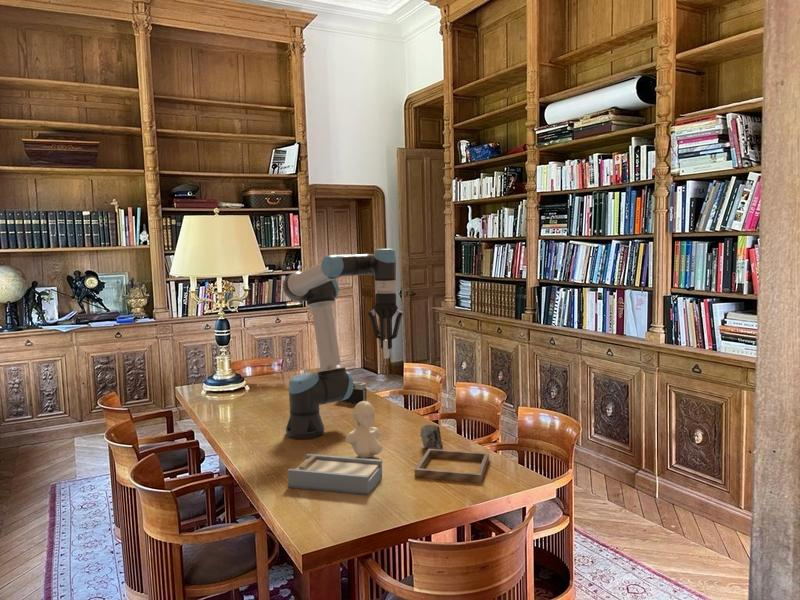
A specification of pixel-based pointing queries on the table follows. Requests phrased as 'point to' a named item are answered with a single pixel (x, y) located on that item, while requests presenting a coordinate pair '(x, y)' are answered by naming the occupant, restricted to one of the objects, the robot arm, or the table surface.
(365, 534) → the table surface
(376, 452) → the figurine
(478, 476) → the brown wooden frame
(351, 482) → the pencil box
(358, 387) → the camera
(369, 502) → the table surface
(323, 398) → the robot arm
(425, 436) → the stone
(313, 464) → the lid
